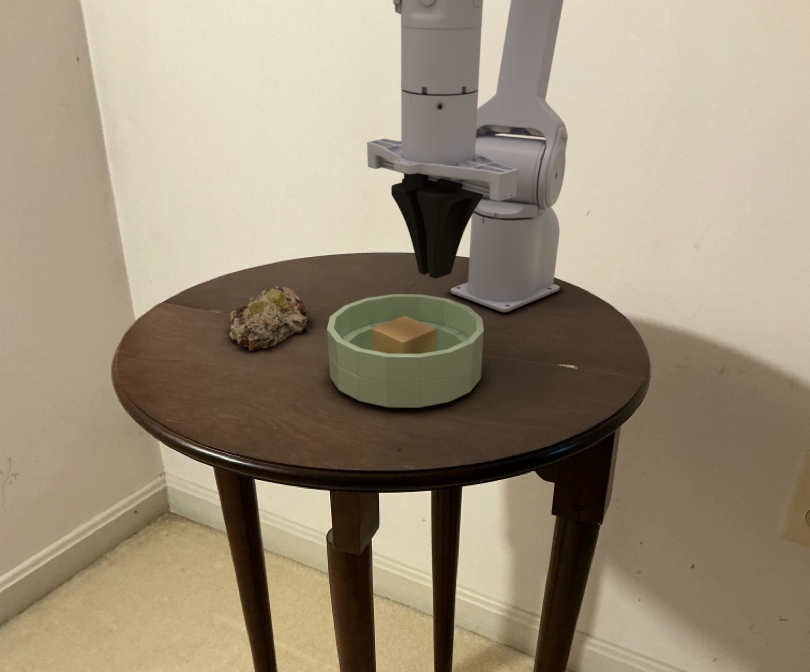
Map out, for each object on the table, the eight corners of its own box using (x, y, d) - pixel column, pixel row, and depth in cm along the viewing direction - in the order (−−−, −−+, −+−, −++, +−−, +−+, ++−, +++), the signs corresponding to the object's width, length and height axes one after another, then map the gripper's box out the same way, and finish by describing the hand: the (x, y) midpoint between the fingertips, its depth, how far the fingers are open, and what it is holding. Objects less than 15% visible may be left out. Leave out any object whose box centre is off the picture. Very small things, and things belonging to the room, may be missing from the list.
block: (405, 357, 70) (405, 315, 68) (436, 371, 68) (437, 328, 66) (372, 370, 68) (371, 328, 66) (403, 386, 66) (403, 342, 64)
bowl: (407, 333, 76) (407, 283, 73) (510, 377, 68) (515, 323, 65) (301, 375, 69) (296, 321, 66) (402, 429, 61) (402, 372, 58)
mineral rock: (239, 284, 80) (309, 268, 77) (255, 323, 82) (323, 309, 80) (198, 328, 72) (274, 312, 69) (217, 370, 74) (291, 356, 72)
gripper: (335, 84, 59) (344, 263, 67) (476, 109, 50) (465, 309, 59) (402, 74, 62) (402, 245, 71) (543, 96, 54) (524, 286, 63)
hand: (435, 273), depth 65 cm, fingers closed
